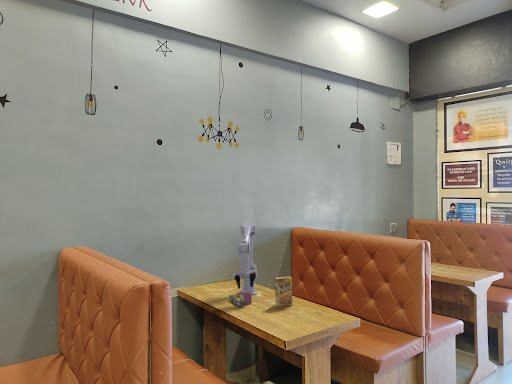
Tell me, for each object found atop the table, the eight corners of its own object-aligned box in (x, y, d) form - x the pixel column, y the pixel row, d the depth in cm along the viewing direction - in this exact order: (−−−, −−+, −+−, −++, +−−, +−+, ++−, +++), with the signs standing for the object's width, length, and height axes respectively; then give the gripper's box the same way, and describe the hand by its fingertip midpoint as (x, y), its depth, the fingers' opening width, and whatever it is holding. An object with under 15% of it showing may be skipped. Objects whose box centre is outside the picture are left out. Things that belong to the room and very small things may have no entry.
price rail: (229, 299, 213) (229, 295, 213) (231, 299, 213) (231, 295, 213) (240, 308, 196) (240, 303, 196) (242, 307, 197) (242, 303, 197)
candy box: (277, 307, 197) (277, 278, 197) (275, 304, 201) (274, 277, 201) (292, 305, 200) (292, 277, 200) (290, 303, 204) (289, 275, 204)
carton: (244, 305, 202) (244, 294, 202) (239, 301, 209) (239, 291, 209) (251, 304, 203) (251, 293, 204) (246, 300, 211) (246, 290, 211)
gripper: (235, 266, 200) (235, 290, 200) (259, 263, 206) (259, 287, 206) (231, 264, 206) (231, 288, 206) (254, 261, 212) (254, 284, 212)
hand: (245, 287), depth 206 cm, fingers open, 7 cm apart
